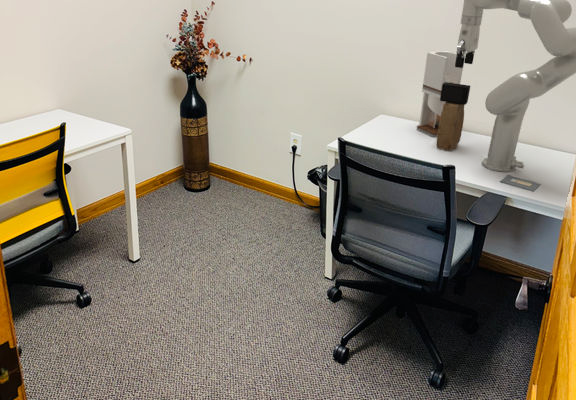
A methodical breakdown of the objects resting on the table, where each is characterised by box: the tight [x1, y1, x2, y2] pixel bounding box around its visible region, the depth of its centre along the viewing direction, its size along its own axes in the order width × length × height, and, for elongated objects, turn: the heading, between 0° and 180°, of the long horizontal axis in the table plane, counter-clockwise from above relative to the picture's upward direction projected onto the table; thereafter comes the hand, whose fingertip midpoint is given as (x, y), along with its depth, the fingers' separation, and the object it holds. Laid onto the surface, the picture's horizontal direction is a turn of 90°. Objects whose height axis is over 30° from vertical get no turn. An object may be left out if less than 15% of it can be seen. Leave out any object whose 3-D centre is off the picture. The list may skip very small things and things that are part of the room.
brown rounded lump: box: [435, 102, 465, 151], centre depth 227 cm, size 11×8×20 cm
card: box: [499, 174, 542, 192], centre depth 199 cm, size 12×8×1 cm, turn 51°
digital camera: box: [440, 82, 471, 106], centre depth 220 cm, size 10×5×7 cm, turn 62°
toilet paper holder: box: [416, 50, 466, 138], centre depth 240 cm, size 11×11×35 cm
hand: (463, 65), depth 216 cm, fingers open, 9 cm apart
